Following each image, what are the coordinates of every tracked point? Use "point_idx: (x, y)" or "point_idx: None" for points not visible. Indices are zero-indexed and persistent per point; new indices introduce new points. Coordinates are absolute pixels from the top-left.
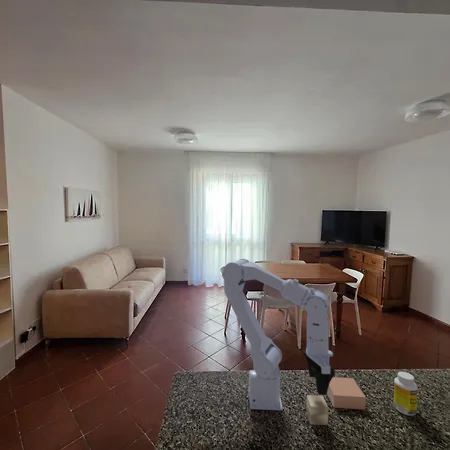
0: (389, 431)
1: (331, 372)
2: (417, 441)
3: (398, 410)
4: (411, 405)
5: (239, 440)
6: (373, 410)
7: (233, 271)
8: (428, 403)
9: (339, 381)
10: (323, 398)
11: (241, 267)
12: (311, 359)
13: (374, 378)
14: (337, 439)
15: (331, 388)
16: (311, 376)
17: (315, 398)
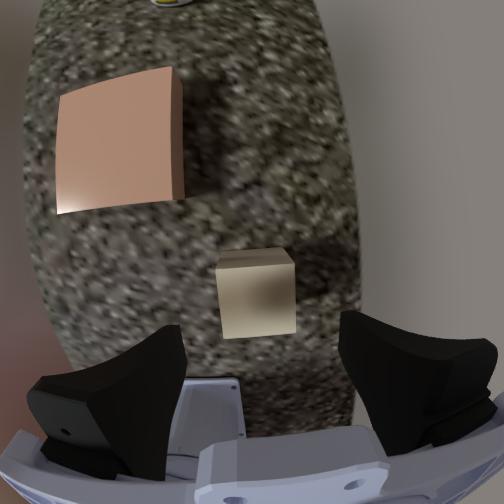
0: (280, 53)
1: (487, 372)
2: (305, 10)
3: (188, 1)
4: None
5: None
6: (186, 62)
7: None
8: None
9: (77, 153)
10: (234, 269)
11: None
12: (154, 437)
13: (46, 43)
14: (339, 231)
15: (126, 200)
16: (186, 359)
17: (242, 306)
